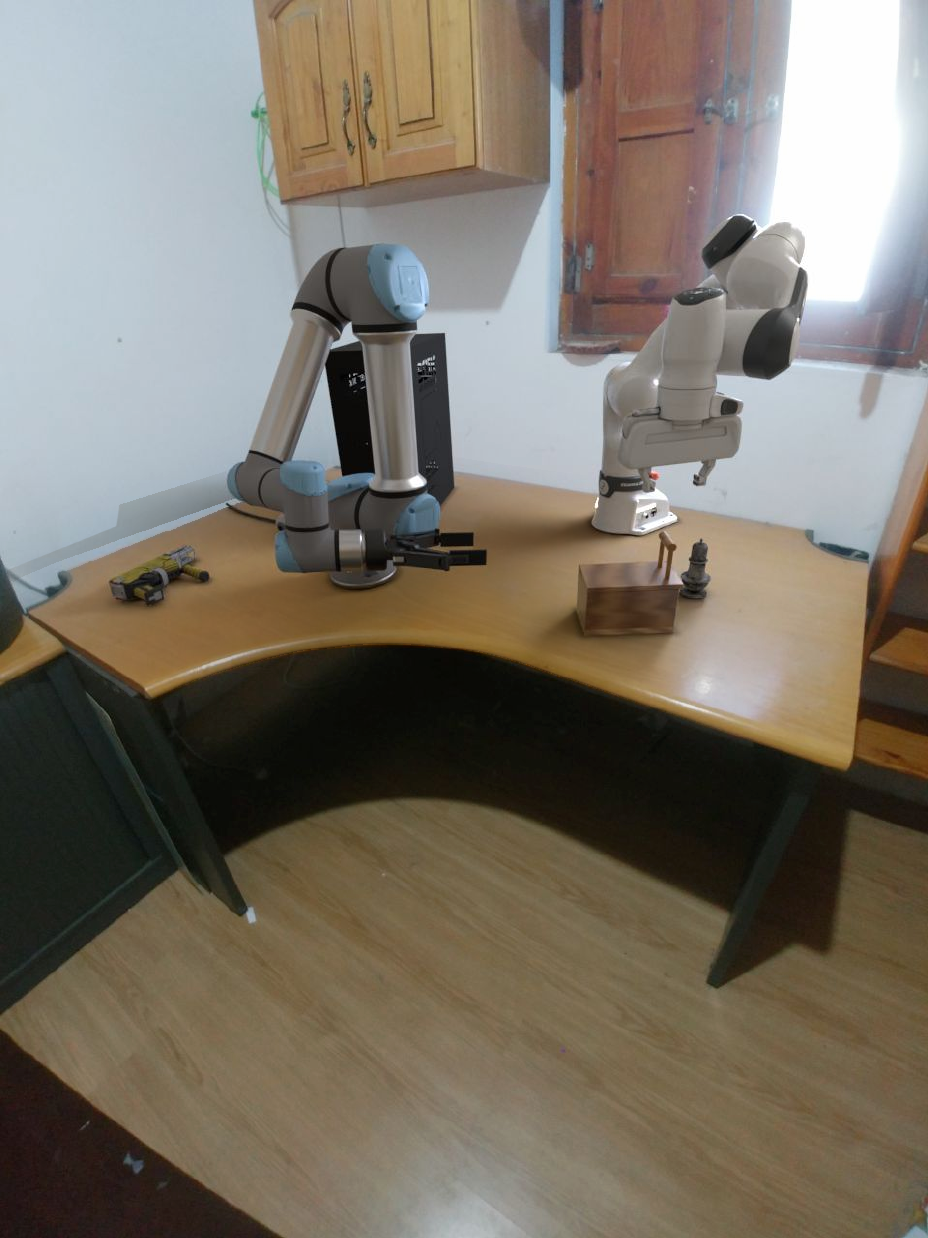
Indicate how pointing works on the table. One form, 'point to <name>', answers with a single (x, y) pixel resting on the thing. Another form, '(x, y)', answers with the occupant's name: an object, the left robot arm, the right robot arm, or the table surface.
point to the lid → (633, 573)
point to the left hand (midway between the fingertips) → (479, 547)
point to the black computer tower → (427, 410)
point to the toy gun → (155, 576)
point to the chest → (626, 611)
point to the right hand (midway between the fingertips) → (673, 488)
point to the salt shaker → (696, 572)
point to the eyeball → (280, 522)
